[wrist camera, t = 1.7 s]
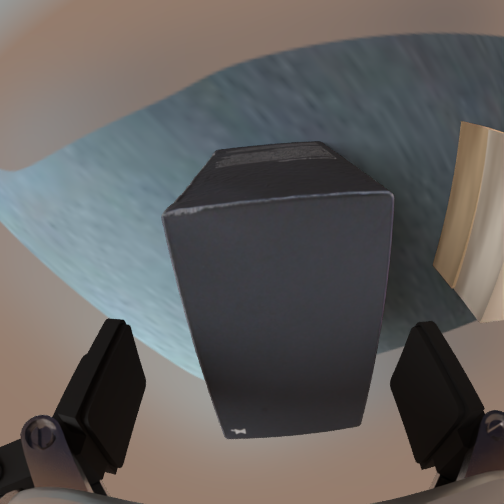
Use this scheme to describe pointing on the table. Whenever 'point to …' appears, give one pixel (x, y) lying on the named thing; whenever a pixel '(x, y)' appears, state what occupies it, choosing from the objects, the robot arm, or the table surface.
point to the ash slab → (486, 241)
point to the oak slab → (462, 201)
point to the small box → (283, 285)
